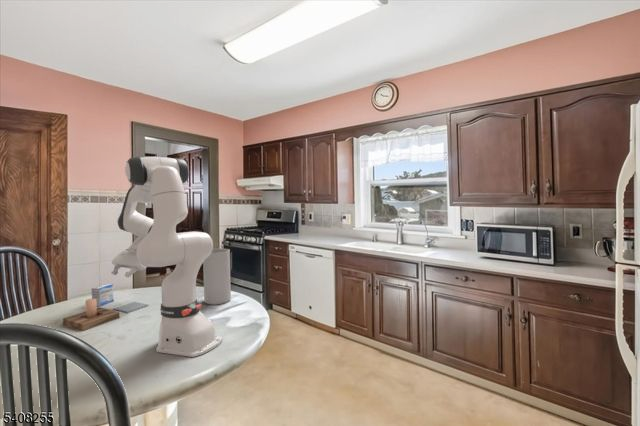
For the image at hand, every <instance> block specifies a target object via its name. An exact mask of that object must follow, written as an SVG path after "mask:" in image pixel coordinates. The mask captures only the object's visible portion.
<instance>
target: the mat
mask: <svg viewBox="0 0 640 426" xmlns="http://www.w3.org/2000/svg"><path fill="white" fill-rule="evenodd" d="M148 306H149V304H146V303H142V302H138V301H132V302H129V303H127V304H123V305H120V306H118V307H114V308H113V311H117V310H118V311H117V312H123V313H126V314H130V313H132V312H135V311H137V309H138V310H141V309H143V307H144V308H146V307H148ZM140 308H141V309H140ZM134 310H135V311H134Z"/></svg>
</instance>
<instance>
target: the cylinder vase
mask: <svg viewBox="0 0 640 426" xmlns="http://www.w3.org/2000/svg"><path fill="white" fill-rule="evenodd" d="M230 251H231V250H230V249H229V248H213V250H212V252H211V254H210V255H209V256H208V257H207V258H206V259H205V260H204V262H203V263H202V265H203V266H202V267H203V271H202V272H203V300H204V304H206V305H212V306H213V305H215V306H217V305H222V304H226V303H228V302H229V301H231V299H232V295H231V291H232V288H231V287H232V286H231V252H230Z"/></svg>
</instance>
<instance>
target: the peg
mask: <svg viewBox="0 0 640 426" xmlns="http://www.w3.org/2000/svg"><path fill="white" fill-rule="evenodd" d="M97 308H98V306H97V304H96V299H92V298H88V299H85V312H86V319H90V318H93V317H96V316H97Z"/></svg>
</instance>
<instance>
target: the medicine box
mask: <svg viewBox="0 0 640 426" xmlns="http://www.w3.org/2000/svg"><path fill="white" fill-rule="evenodd" d="M114 298H115V297H114V284H113V283H105V284H101V285H98V286H95V287H93V288H91V299H96V304H97V307H103V306H104V305H107V304H110V303H112V302H114V300H115V299H114Z"/></svg>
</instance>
